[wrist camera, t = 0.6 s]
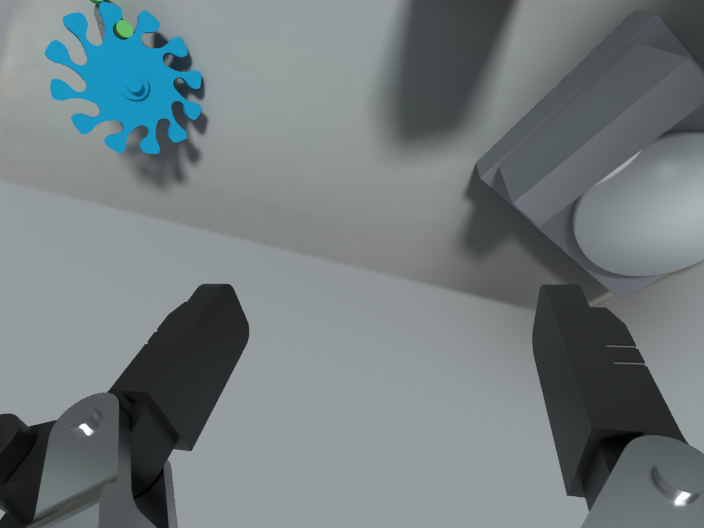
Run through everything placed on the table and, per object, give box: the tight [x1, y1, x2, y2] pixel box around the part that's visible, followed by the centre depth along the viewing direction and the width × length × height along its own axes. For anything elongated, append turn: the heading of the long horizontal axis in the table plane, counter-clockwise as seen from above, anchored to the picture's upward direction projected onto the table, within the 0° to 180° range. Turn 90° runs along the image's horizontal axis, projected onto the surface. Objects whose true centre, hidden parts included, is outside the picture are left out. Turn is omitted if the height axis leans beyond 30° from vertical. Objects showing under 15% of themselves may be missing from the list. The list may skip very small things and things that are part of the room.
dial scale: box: [476, 11, 704, 300], centre depth 26 cm, size 13×17×9 cm
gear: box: [45, 0, 202, 154], centre depth 30 cm, size 11×6×10 cm
